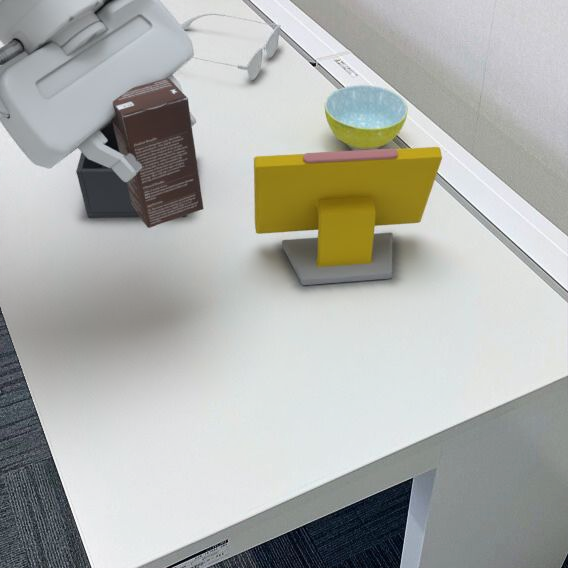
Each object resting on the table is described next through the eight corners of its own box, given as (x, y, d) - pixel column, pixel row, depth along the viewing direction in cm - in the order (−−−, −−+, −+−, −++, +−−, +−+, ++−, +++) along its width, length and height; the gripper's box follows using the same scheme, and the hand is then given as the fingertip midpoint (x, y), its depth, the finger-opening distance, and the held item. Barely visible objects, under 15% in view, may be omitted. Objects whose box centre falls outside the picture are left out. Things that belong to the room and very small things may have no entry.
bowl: (343, 174, 105) (345, 134, 100) (311, 131, 112) (312, 92, 107) (416, 158, 108) (422, 119, 104) (381, 117, 115) (385, 78, 111)
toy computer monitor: (414, 234, 97) (431, 122, 85) (429, 276, 92) (449, 163, 80) (255, 245, 94) (250, 131, 82) (261, 289, 89) (256, 174, 77)
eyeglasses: (248, 88, 119) (247, 64, 116) (141, 67, 122) (137, 42, 119) (282, 45, 129) (282, 21, 126) (182, 26, 132) (180, 2, 129)
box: (185, 186, 77) (169, 74, 68) (204, 211, 75) (191, 99, 66) (127, 204, 75) (103, 91, 66) (146, 231, 72) (123, 117, 63)
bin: (87, 217, 96) (76, 171, 91) (100, 161, 104) (90, 116, 99) (187, 216, 97) (181, 170, 92) (192, 161, 105) (187, 116, 100)
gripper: (-29, 52, 56) (106, 202, 61) (140, -46, 69) (241, 85, 73) (-55, 91, 61) (73, 227, 65) (108, -7, 73) (205, 113, 78)
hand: (163, 151), depth 70 cm, fingers closed on box, 7 cm apart
